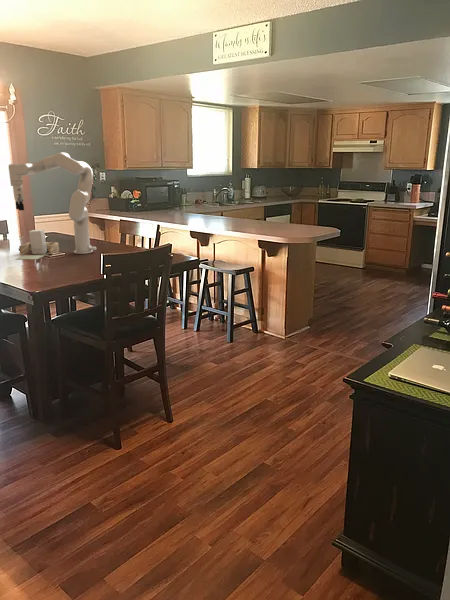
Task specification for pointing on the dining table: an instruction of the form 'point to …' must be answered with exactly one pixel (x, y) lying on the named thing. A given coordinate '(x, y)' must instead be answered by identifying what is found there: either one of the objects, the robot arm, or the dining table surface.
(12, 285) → the dining table surface
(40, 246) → the skincare box
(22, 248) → the open wooden frame
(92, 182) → the robot arm
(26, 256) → the mat
